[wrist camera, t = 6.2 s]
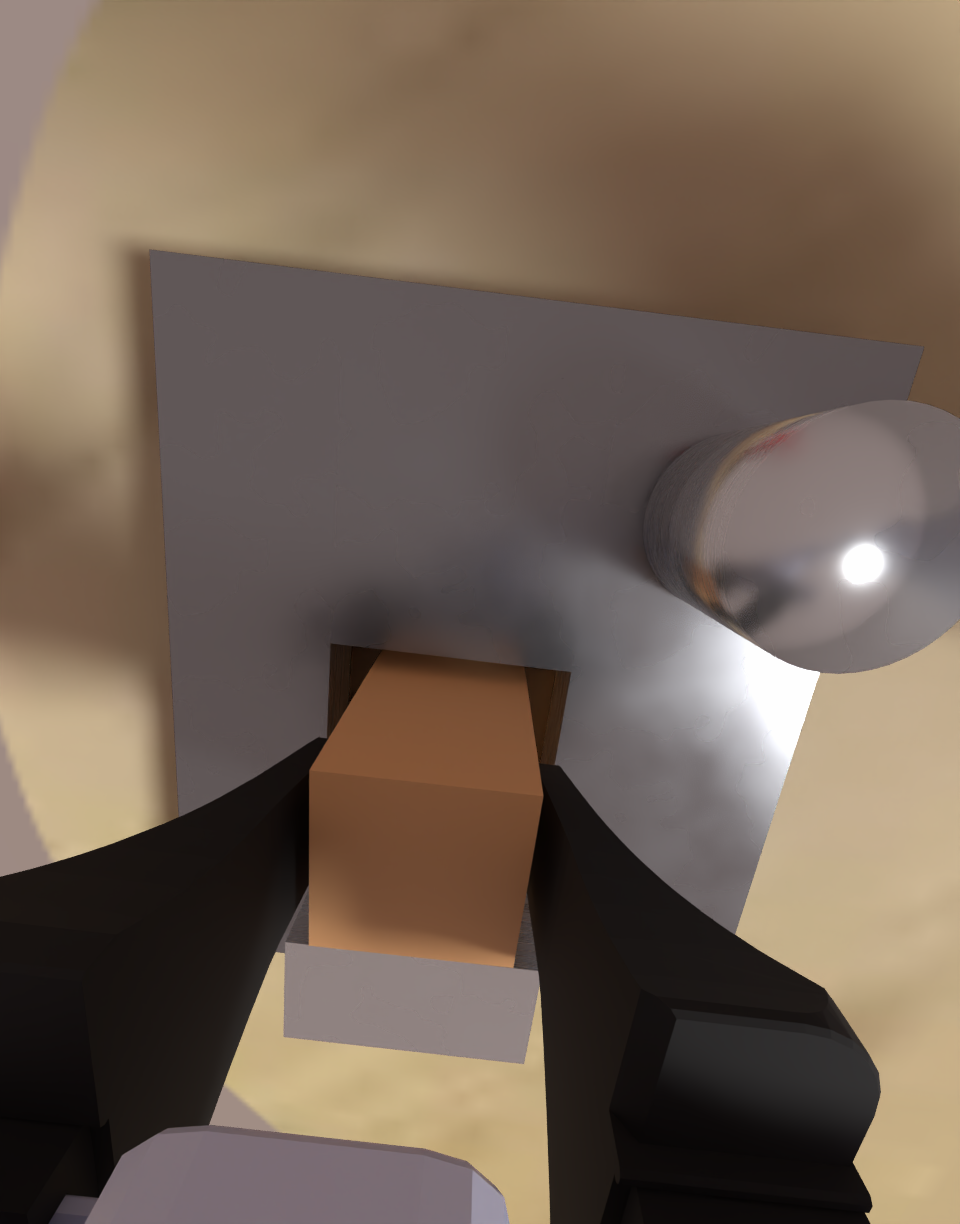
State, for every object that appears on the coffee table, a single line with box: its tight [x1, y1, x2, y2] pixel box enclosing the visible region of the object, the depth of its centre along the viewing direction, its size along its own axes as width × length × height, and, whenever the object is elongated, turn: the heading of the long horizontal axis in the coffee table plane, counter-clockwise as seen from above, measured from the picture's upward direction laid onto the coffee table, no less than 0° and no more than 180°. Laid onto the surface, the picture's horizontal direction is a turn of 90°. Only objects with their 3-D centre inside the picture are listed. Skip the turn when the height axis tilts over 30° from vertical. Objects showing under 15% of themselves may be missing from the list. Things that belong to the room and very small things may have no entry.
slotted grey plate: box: [150, 250, 960, 1064], centre depth 11 cm, size 16×18×6 cm
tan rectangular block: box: [309, 649, 543, 968], centre depth 12 cm, size 4×4×6 cm
